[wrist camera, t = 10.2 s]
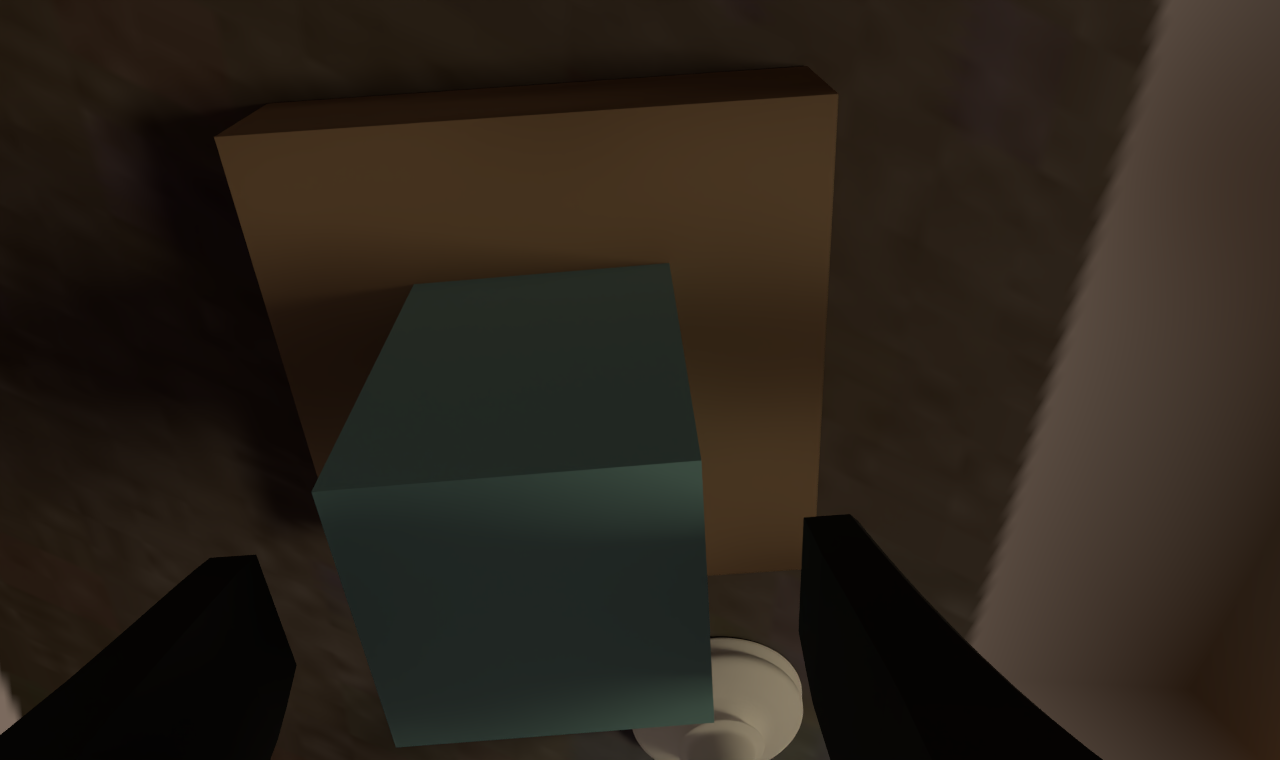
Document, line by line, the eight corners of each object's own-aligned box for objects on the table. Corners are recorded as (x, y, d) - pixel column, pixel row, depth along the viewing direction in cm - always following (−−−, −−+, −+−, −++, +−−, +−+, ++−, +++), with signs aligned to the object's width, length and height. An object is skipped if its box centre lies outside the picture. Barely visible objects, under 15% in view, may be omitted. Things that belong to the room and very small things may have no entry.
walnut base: (792, 497, 21) (813, 568, 19) (381, 525, 21) (354, 599, 19) (806, 66, 16) (838, 94, 14) (267, 103, 16) (213, 136, 14)
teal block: (682, 471, 17) (714, 722, 12) (459, 489, 17) (396, 748, 12) (669, 262, 15) (701, 460, 10) (414, 283, 15) (311, 492, 10)
